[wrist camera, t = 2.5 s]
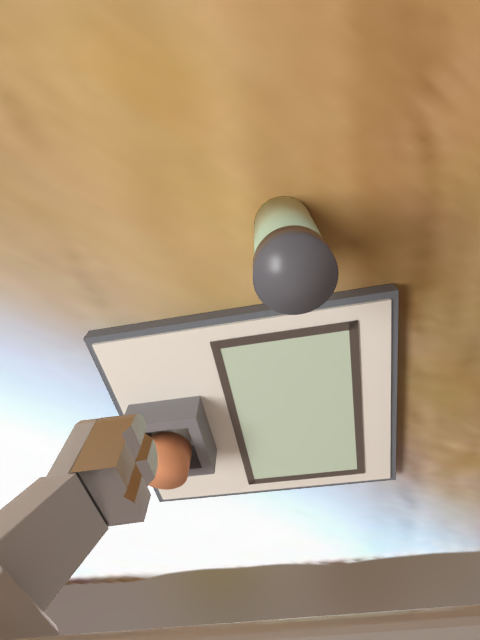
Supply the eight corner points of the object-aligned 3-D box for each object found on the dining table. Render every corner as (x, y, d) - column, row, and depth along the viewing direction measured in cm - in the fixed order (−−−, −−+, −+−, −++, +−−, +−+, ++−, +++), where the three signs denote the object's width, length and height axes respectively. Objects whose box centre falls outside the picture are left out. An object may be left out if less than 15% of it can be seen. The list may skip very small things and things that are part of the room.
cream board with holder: (393, 283, 24) (413, 308, 21) (391, 469, 33) (406, 506, 29) (89, 330, 26) (67, 359, 23) (162, 492, 35) (153, 528, 32)
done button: (185, 429, 26) (180, 454, 25) (197, 461, 28) (193, 487, 26) (140, 434, 27) (131, 459, 25) (154, 465, 28) (147, 491, 27)
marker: (308, 189, 21) (335, 229, 14) (314, 248, 23) (340, 308, 16) (248, 201, 22) (246, 244, 15) (258, 257, 23) (260, 320, 16)
